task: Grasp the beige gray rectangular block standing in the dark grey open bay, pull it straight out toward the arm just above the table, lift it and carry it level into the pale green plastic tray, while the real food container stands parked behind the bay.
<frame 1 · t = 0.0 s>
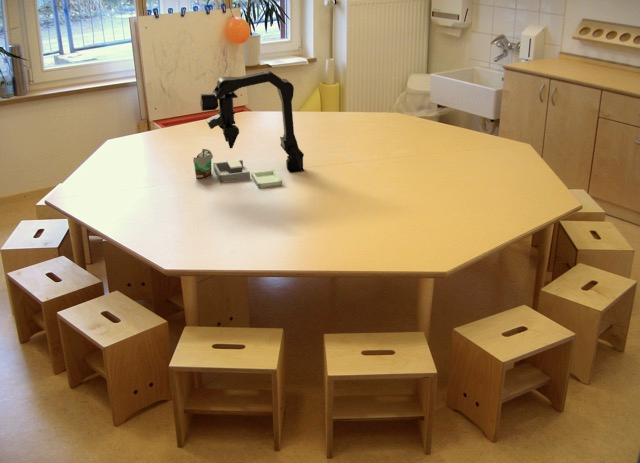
hand: (229, 144, 319), 15 cm above the table, fingers open, 9 cm apart
tray: (266, 181, 321), on the table
food container: (206, 175, 329), on the table
beige gray rectangular block: (235, 174, 330), on the table
bay: (235, 173, 330), on the table
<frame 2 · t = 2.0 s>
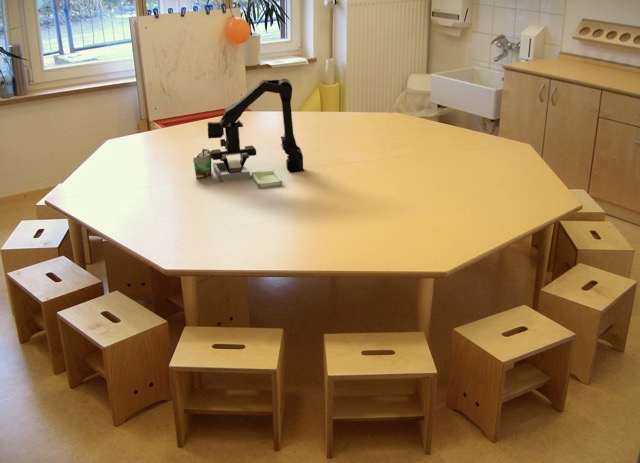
hand: (234, 171, 329), 1 cm above the table, fingers closed on beige gray rectangular block, 5 cm apart
beige gray rectangular block: (235, 173, 330), on the table, touching gripper
everything else where it was.
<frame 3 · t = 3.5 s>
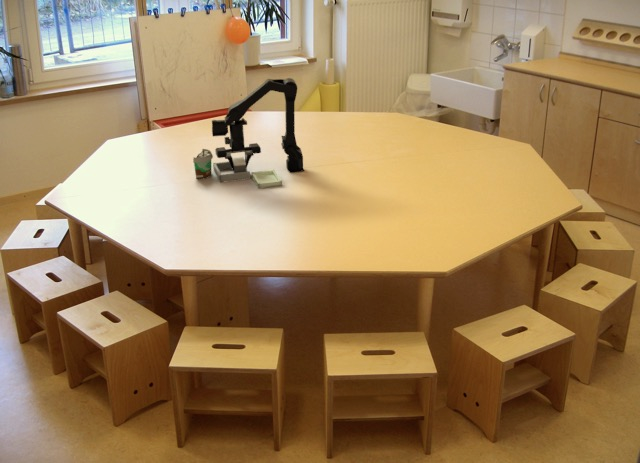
hand: (239, 169, 329), 2 cm above the table, fingers closed on beige gray rectangular block, 5 cm apart
beige gray rectangular block: (239, 171, 330), point 1 cm above the table, touching gripper
everything else where it was.
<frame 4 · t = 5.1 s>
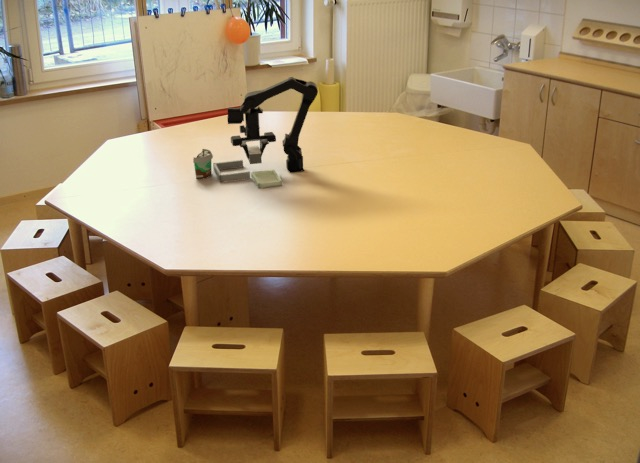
hand: (254, 157, 329), 6 cm above the table, fingers closed on beige gray rectangular block, 5 cm apart
beige gray rectangular block: (254, 160, 330), point 5 cm above the table, touching gripper
everything else where it was.
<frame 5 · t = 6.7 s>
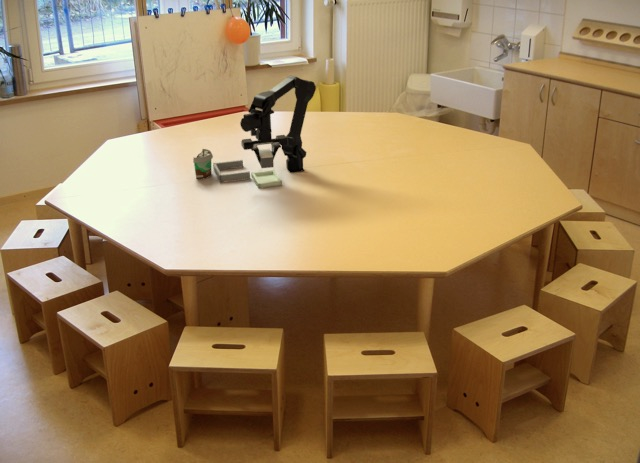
hand: (265, 161, 318), 9 cm above the table, fingers closed on beige gray rectangular block, 5 cm apart
beige gray rectangular block: (266, 164, 318), point 8 cm above the table, touching gripper
everything else where it was.
when the fingers open (2 cm above the table, at t = 8.1 s): beige gray rectangular block stays where it is, resting on tray.
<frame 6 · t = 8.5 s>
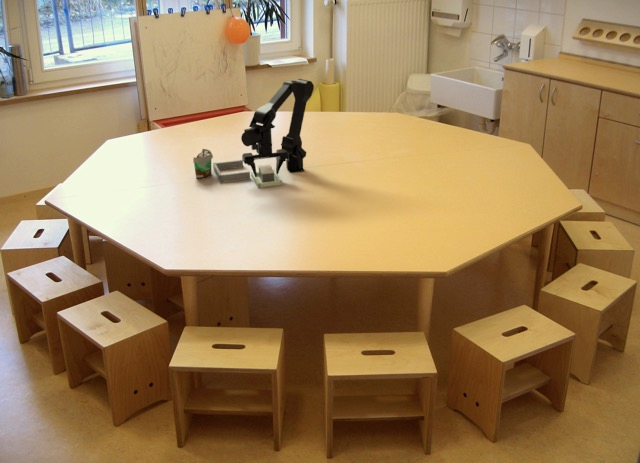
hand: (266, 175, 320), 2 cm above the table, fingers open, 9 cm apart
beige gray rectangular block: (266, 179, 321), point 1 cm above the table, touching tray
everything else where it was.
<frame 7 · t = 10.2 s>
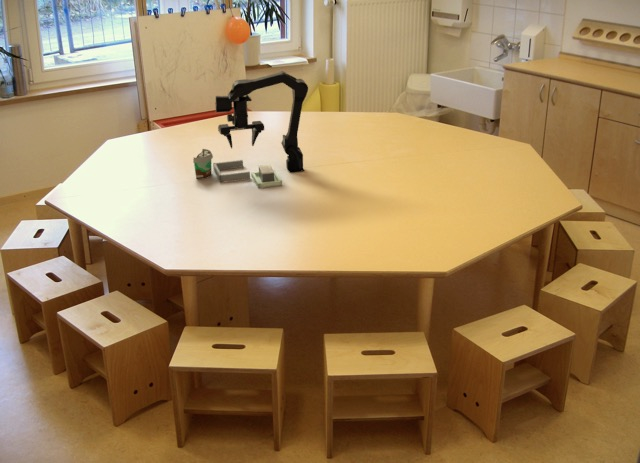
hand: (242, 147, 324), 12 cm above the table, fingers open, 9 cm apart
nothing on the table moved.
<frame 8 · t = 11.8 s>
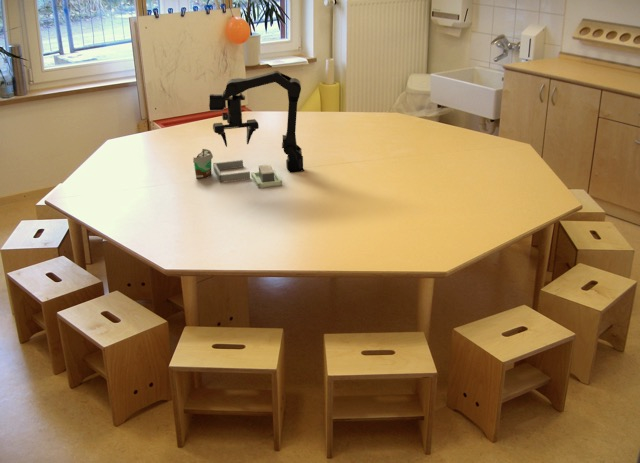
hand: (236, 145, 327), 12 cm above the table, fingers open, 9 cm apart
nothing on the table moved.
at the end: beige gray rectangular block inside the target area on the tray (0.1 cm from its centre), point 0.6 cm above the tray's base; beige gray rectangular block tilted 0°; the gripper is holding nothing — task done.
